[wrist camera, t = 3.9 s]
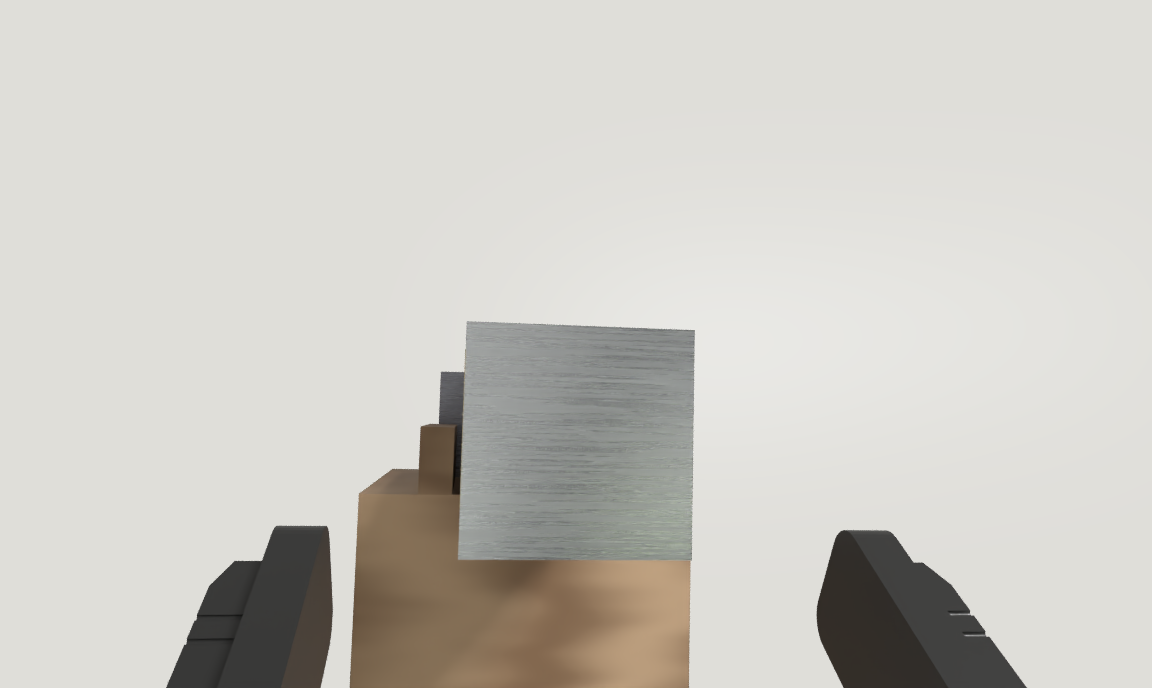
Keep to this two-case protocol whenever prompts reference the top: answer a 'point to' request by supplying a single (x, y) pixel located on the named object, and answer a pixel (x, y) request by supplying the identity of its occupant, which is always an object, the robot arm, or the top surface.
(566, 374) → the grey rectangular bar
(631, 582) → the large rectangular wooden block
